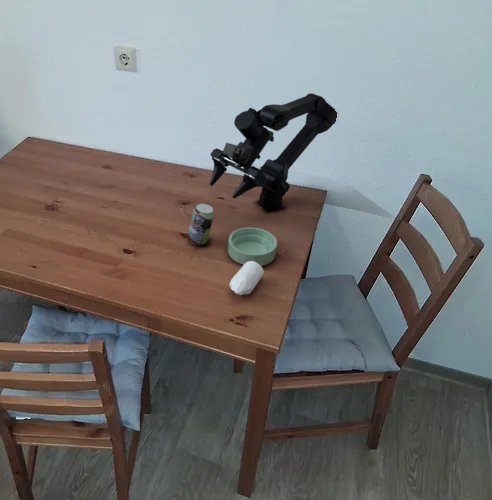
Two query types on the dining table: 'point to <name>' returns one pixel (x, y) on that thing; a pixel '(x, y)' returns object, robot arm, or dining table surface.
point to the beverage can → (200, 224)
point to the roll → (246, 278)
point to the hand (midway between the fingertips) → (221, 191)
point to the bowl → (252, 246)
